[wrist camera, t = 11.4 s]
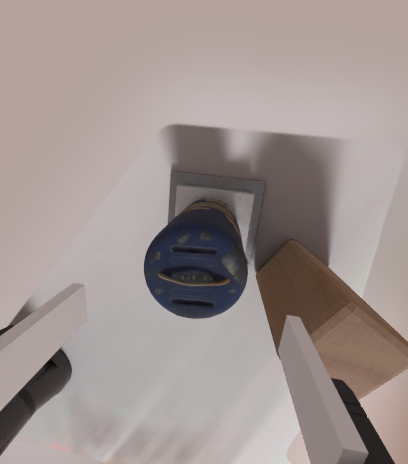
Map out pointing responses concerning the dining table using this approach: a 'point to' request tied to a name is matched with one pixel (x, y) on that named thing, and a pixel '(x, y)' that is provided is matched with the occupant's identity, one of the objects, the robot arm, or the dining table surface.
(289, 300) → the block
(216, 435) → the dining table surface
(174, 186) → the stand
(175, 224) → the canister
